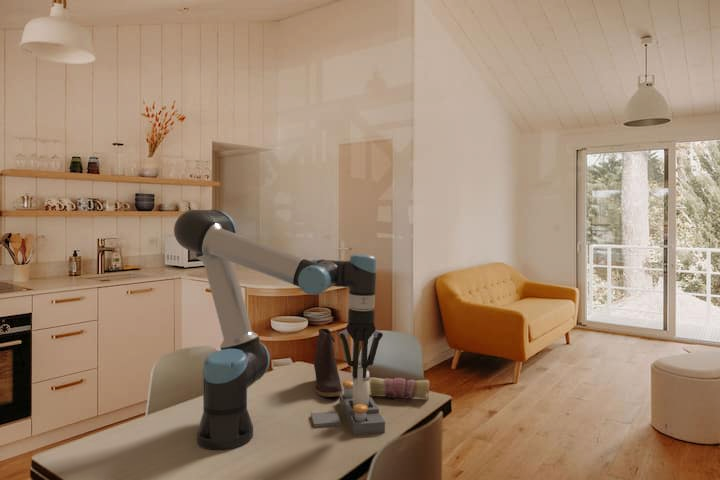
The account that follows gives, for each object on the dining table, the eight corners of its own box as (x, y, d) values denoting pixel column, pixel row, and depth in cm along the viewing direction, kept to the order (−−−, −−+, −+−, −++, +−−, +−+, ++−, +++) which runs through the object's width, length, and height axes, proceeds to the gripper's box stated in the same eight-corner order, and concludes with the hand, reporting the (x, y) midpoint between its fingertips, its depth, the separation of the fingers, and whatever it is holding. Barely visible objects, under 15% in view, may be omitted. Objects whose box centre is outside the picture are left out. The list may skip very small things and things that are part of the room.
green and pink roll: (430, 390, 173) (373, 386, 177) (429, 374, 170) (372, 370, 173) (428, 407, 167) (369, 402, 170) (428, 390, 163) (368, 386, 167)
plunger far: (343, 400, 159) (344, 385, 159) (341, 395, 163) (341, 381, 163) (356, 399, 160) (356, 384, 160) (354, 394, 164) (354, 380, 164)
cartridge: (354, 420, 151) (354, 372, 150) (350, 413, 156) (351, 366, 155) (370, 419, 152) (371, 371, 151) (366, 412, 157) (367, 365, 156)
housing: (354, 434, 141) (354, 420, 141) (339, 403, 164) (339, 391, 164) (384, 432, 143) (385, 418, 143) (366, 401, 166) (366, 389, 166)
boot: (321, 402, 165) (321, 342, 164) (307, 379, 188) (308, 326, 187) (346, 400, 167) (347, 341, 166) (330, 377, 190) (330, 325, 189)
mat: (314, 427, 146) (314, 423, 146) (311, 416, 153) (311, 413, 153) (341, 425, 147) (341, 421, 147) (336, 414, 155) (336, 411, 155)
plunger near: (354, 426, 142) (354, 410, 142) (351, 420, 146) (351, 404, 146) (368, 425, 143) (369, 409, 143) (365, 419, 147) (365, 403, 147)
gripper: (341, 311, 138) (338, 394, 139) (386, 310, 141) (383, 392, 142) (337, 306, 145) (334, 385, 147) (380, 305, 148) (377, 383, 150)
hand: (358, 388), depth 144 cm, fingers closed
